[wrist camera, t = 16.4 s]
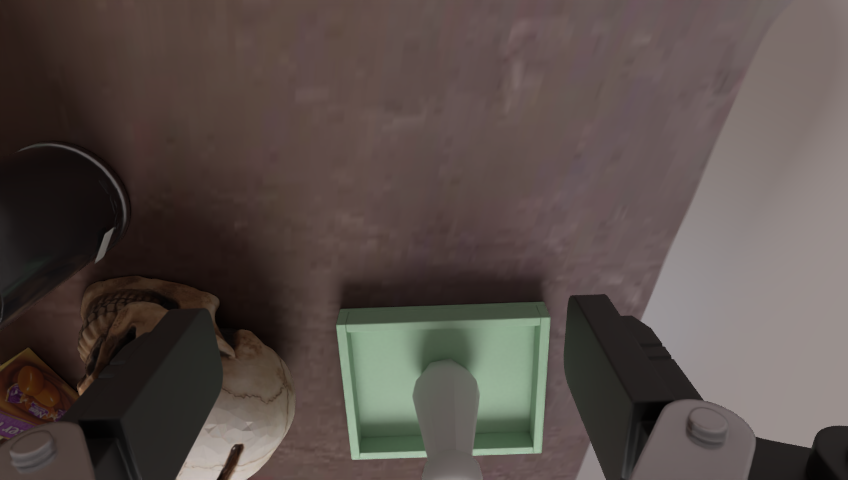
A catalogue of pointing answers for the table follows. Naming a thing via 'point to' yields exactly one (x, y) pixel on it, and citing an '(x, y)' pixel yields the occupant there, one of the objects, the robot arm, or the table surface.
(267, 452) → the coin bank
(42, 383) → the candy box
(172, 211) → the table surface
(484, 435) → the tray
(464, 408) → the salt shaker
